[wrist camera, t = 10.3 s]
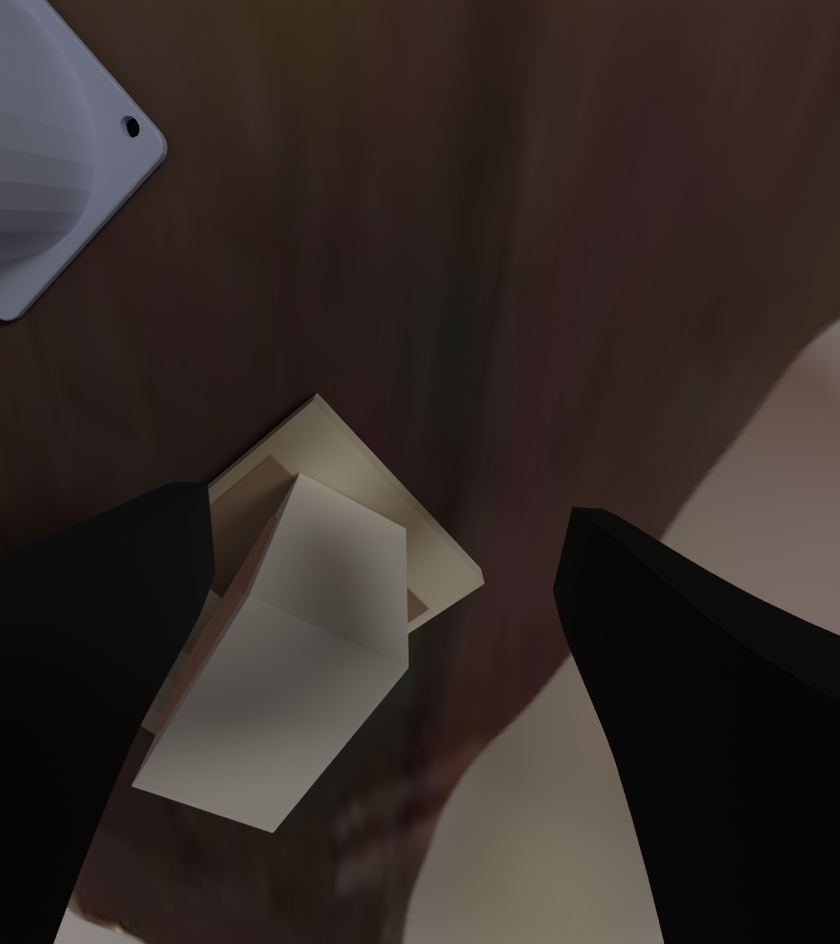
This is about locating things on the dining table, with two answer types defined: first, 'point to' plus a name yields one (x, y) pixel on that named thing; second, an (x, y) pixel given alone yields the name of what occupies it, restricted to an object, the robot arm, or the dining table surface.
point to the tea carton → (286, 661)
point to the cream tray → (343, 470)
